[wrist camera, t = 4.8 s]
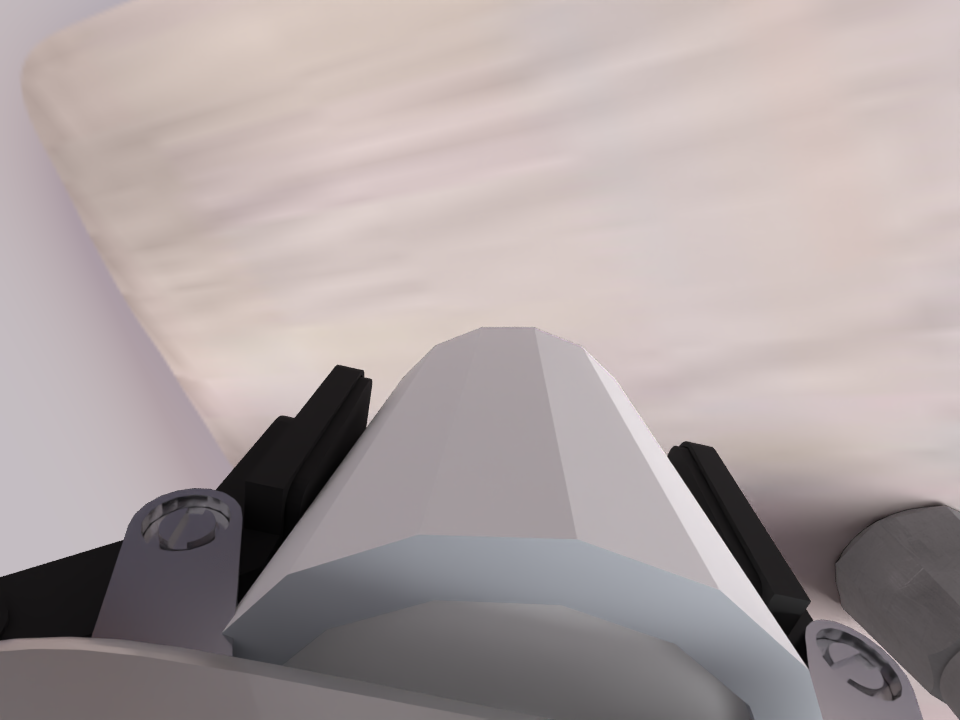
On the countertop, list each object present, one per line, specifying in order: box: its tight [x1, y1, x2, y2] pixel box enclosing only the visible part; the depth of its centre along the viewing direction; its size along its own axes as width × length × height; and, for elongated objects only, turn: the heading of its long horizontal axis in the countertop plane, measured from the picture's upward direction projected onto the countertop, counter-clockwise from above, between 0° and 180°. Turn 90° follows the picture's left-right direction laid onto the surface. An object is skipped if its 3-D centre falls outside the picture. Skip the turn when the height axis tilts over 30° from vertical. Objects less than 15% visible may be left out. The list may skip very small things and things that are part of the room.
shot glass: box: [222, 327, 823, 720], centre depth 9 cm, size 7×7×7 cm
